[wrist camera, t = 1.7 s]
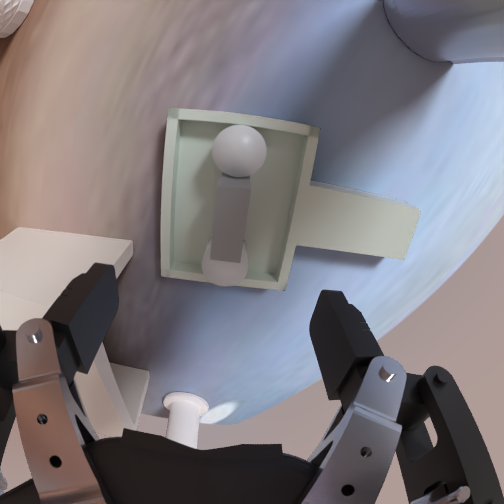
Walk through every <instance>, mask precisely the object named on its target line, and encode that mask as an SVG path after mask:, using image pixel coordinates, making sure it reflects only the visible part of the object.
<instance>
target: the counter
mask: <svg viewBox="0 0 504 504" xmlns="http://www.w3.org/2000/svg"><path fill="white" fill-rule="evenodd" d="M132 256H133V240H125V239H117V238H108V237H100V236H91V235H83V234H74V233H66V232H57V231H49V230H41V229H32V228H24V227H18V228H17V229H15V230H14V231H12V232H11V233H9V234H8V235H7V236H5V237H4V238H3V239H1V240H0V325H1V328H2V330H18V328H19V327H20V326H21V325H22V324H23V323H24V322H26V321H28V320H30V319H34V318H43V316H44V315H45V313H46V312H47V311H48V309H49V308H50V307H51V306H52V304H53V303H54V302H55V300H56V299H57V298H58V297H59V296H60V295H61V293H62V291H63V290H64V289H66V287H67V285H68V284H69V283H70V282H71V280H72V279H74V278H75V277H77V276H79V275H80V274H82V273H86V272H87V271H88V270H89V269H90V267H91V266H92V265H93V264H94V263H96V262H97V263H103V264H110V265H113V266H114V268H115V273H116V279H117V278H118V276H119V275H120V273H121V272H122V270H123V269H124V267H125V266H126V264H127V263H128V261H129V260H130V259H131V257H132ZM74 379H75V382H76V385H77V388H78V391H79V394H80V397H81V399H82V402H83V405H84V408H85V410H86V413H87V415H88V418H89V420H90V423H91V425H92V427H93V429H94V430H95V432H96V433H98V434H101V435H104V436H108V437H122V433H123V429H124V428H126V429H131V430H135V431H137V427H138V423H139V419H140V414H141V410H142V406H143V402H144V398H145V395H146V391H147V387H148V383H149V379H150V374H149V371H147V370H142V369H137V368H132V367H128V366H123V365H119V364H114V363H110V362H109V361H108V358H107V354H106V351H105V348H104V345H103V342H102V343H101V346H100V348H99V350H98V352H97V354H96V356H95V358H94V361H93V363H92V365H91V367H90V370H89V372H88V374H84V373H81V372H78V371H77V372H76V374H75V376H74Z"/></svg>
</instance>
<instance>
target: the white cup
mask: <svg viewBox="0 0 504 504" xmlns="http://www.w3.org/2000/svg"><path fill="white" fill-rule="evenodd" d="M33 3H34V0H0V38H6V37H8V36H9V35H11V34H12V33H14V31H15V30H16V29H17V28H18V27H19V26H20V25H21V24H22V22H23V21H24V20H25V18H26V17H27V15H28V14H29V11H30V9H31V7H32V5H33Z"/></svg>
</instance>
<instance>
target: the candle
mask: <svg viewBox="0 0 504 504" xmlns="http://www.w3.org/2000/svg"><path fill="white" fill-rule="evenodd" d="M163 404H164V406H165V407H166V408H167V409H168V410H169V411H170V414H169V420H168V426H167V432H166V438H168V439H170V440H173V441H175V442H178V443H181V444H183V445H186V446H189V447H192V448H195V449H197V438H198V426H199V416H203V415H205V414H206V413H207V412H208V409H209V405H208V403H207V402H206V401H205V400H204V399H203V398H201V397H199V396H197V395H194V394H191V393H186V392H173V393H169V394H167V395H166V396H165V397H164V400H163Z"/></svg>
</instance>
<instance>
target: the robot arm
mask: <svg viewBox="0 0 504 504" xmlns="http://www.w3.org/2000/svg"><path fill="white" fill-rule="evenodd" d="M384 9H385V12H386V16H387V18H388V20H389V22H390V24H391V26H392V28H393V29H394V31H395V32H396V34H397V35H398V36H399V37H400V39H401V40H402V41H403V42H404V43H405V44H406V45H407V46H408V47H409V48H410V49H411V50H412V51H414V52H415V53H417V54H418V55H419V56H421V57H423V58H425V59H427V60H430V61H433V62H444V61H450V62H452V63H453V64H461V63H474V62H503V61H504V0H384ZM118 305H119V297H118V289H117V282H116V273H115V268H114V266H113V265H110V264H103V263H97V262H96V263H94V264H93V265H92V266H91V267H90V269H89V270H88V271H87V272H86V273H82V274H80V275H79V276H77V277H75V278H74V279H72V280H71V282H70V283H69V284H68V285H67V287H66V289H64V290H63V291H62V293H61V295H60V296H59V297H58V298H57V299H56V300H55V302H54V303H53V304H52V306H51V307H50V308H49V309H48V311H47V312H46V313H45V315H44V316H43V318H34V319H30V320H28V321H26V322H24V323H23V324H22V325H21V326H20V327H19V328H18V330H2V328H1V325H0V466H1V462H2V458H3V454H4V450H5V447H6V444H7V441H8V437H9V435H10V431H11V429H12V426H13V423H14V420H15V417H16V418H17V423H18V428H19V432H20V437H21V441H22V445H23V448H24V452H25V456H26V459H27V463H28V465H29V469H30V472H31V475H32V479H30V480H28V481H26V482H24V483H23V484H21V485H19V486H17V487H16V488H14V489H11V490H10V491H8V492H6V493H4V492H3V490H5V489H6V488H7V481H6V479H5V478H4V477H3V476H2V472H1V469H0V504H375V502H376V499H377V497H378V495H379V493H380V490H381V488H382V486H383V483H384V481H385V478H386V476H387V473H388V470H389V468H390V465H391V462H392V459H393V456H394V453H395V451H396V454H397V458H398V461H399V465H400V469H401V473H402V476H403V480H404V484H405V488H406V492H407V496H408V501H409V504H504V497H503V494H502V490H501V487H500V484H499V481H498V477H497V475H496V472H495V469H494V466H493V463H492V461H491V458H490V455H489V452H488V451H487V447H486V445H485V443H484V440H483V438H482V435H481V433H480V431H479V429H478V427H477V424H476V422H475V420H474V418H473V416H472V413H471V411H470V409H469V408H468V405H467V403H466V402H465V399H464V397H463V395H462V393H461V392H460V390H459V388H458V386H457V384H456V382H455V380H454V379H453V377H452V375H451V374H450V373H449V372H448V371H447V370H445V369H444V368H442V367H439V366H431V367H429V368H428V369H427V370H426V372H425V373H424V374H423V375H416V374H410V373H406V371H405V369H404V367H403V366H402V365H401V364H400V363H399V362H398V361H396V360H395V359H393V358H391V357H387V356H384V354H383V352H382V351H381V349H380V347H379V345H378V343H377V341H376V339H375V337H374V335H373V334H372V332H371V331H370V328H369V326H368V324H367V323H366V321H365V319H364V317H363V315H362V313H361V312H360V311H359V310H358V309H357V308H356V307H355V306H353V305H352V304H349V303H348V301H347V300H346V298H345V296H344V294H343V292H342V291H334V290H322V291H321V293H320V295H319V298H318V301H317V304H316V307H315V309H314V312H313V315H312V318H311V321H310V327H309V332H310V337H311V340H312V344H313V347H314V350H315V354H316V357H317V360H318V364H319V367H320V371H321V374H322V378H323V381H324V384H325V388H326V392H327V395H328V399H329V400H341V404H342V405H341V406H340V408H339V409H338V411H337V413H336V415H335V417H334V418H333V420H332V422H331V424H330V426H329V428H328V429H327V431H326V433H325V434H324V436H323V438H322V440H321V441H320V443H319V444H318V446H317V447H316V449H315V450H314V452H313V453H312V454H311V455H310V457H309V458H308V459H307V461H306V460H304V459H301V458H299V457H296V456H293V455H290V454H286V453H283V452H282V444H241V445H236V446H230V447H224V448H217V449H210V450H198V449H195V448H192V447H189V446H186V445H183V444H181V443H178V442H175V441H173V440H170V439H168V438H165V437H162V436H159V435H154V434H149V433H144V432H139V431H135V430H131V429H126V428H124V429H123V433H122V437H109V438H104V439H100V440H99V438H98V436H97V434H96V432H95V430H94V429H93V427H92V425H91V423H90V420H89V418H88V415H87V413H86V410H85V408H84V405H83V402H82V399H81V397H80V394H79V391H78V388H77V385H76V382H75V379H74V376H75V374H76V372H77V371H78V372H81V373H84V374H88V372H89V370H90V367H91V365H92V363H93V361H94V358H95V356H96V354H97V352H98V350H99V348H100V346H101V343H102V341H103V339H104V337H105V335H106V333H107V331H108V329H109V327H110V325H111V323H112V321H113V319H114V317H115V315H116V313H117V310H118ZM428 417H430V418H431V420H432V423H433V425H434V428H435V430H436V433H437V436H438V440H437V444H436V446H435V447H434V448H433V445H432V442H431V440H430V437H429V434H428V431H427V429H426V426H425V423H424V421H425V420H426V419H427V418H428Z"/></svg>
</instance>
